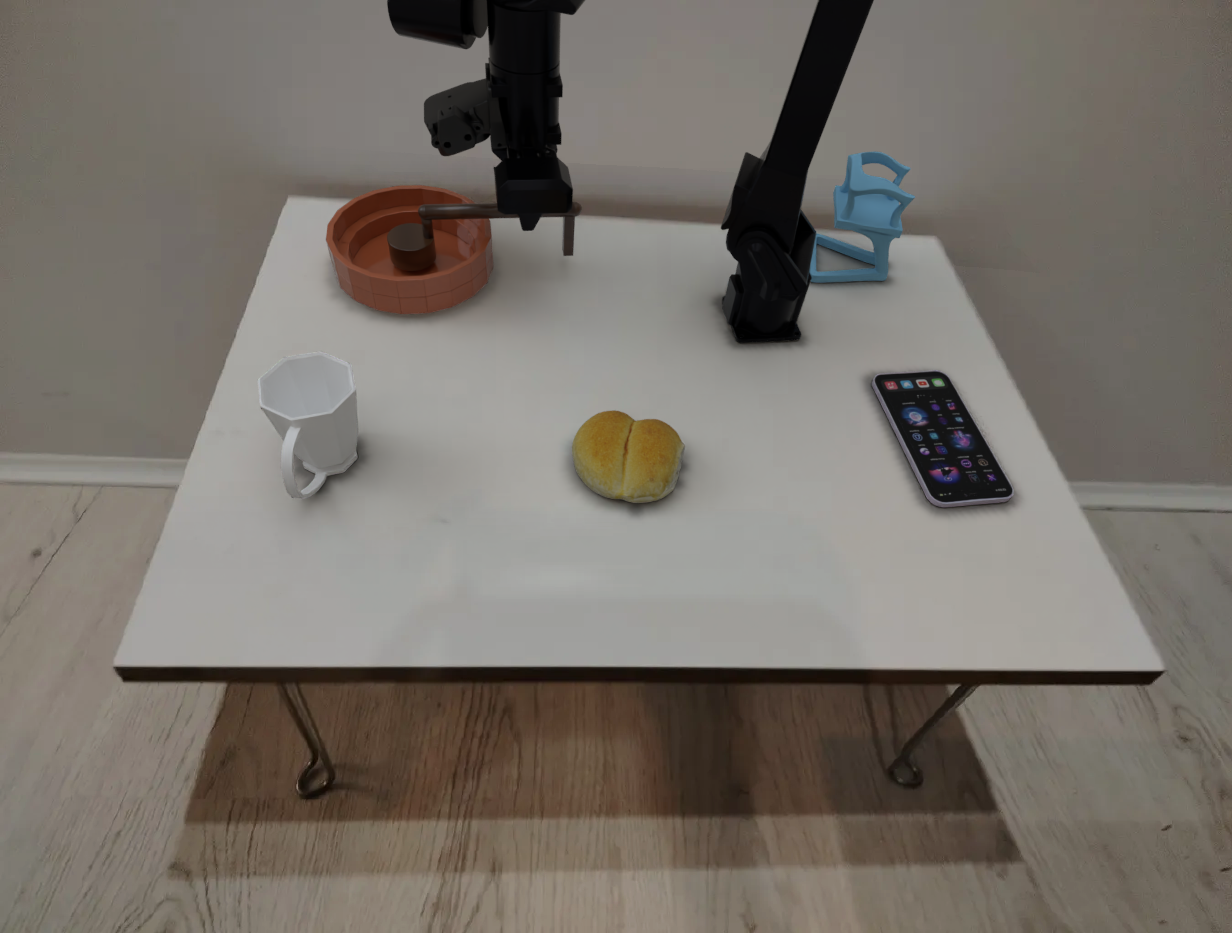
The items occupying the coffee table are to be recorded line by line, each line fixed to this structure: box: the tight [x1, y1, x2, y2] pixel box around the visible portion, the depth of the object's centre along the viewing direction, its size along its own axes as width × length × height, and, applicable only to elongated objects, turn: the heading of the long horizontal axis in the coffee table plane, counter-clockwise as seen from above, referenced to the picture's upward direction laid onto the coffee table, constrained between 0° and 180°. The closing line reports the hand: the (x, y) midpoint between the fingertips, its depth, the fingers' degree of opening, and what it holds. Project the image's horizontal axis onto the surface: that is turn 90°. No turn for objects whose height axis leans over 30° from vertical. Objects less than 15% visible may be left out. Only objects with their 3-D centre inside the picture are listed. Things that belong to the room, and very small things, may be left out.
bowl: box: [325, 184, 494, 315], centre depth 76 cm, size 15×15×4 cm
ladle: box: [387, 201, 583, 271], centre depth 75 cm, size 19×4×6 cm, turn 99°
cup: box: [257, 350, 359, 499], centre depth 58 cm, size 7×10×8 cm
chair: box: [809, 150, 916, 284], centre depth 79 cm, size 8×8×12 cm
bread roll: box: [571, 409, 686, 504], centre depth 62 cm, size 8×9×4 cm
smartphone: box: [871, 369, 1015, 508], centre depth 68 cm, size 8×1×15 cm
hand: (527, 224), depth 75 cm, fingers closed on ladle
